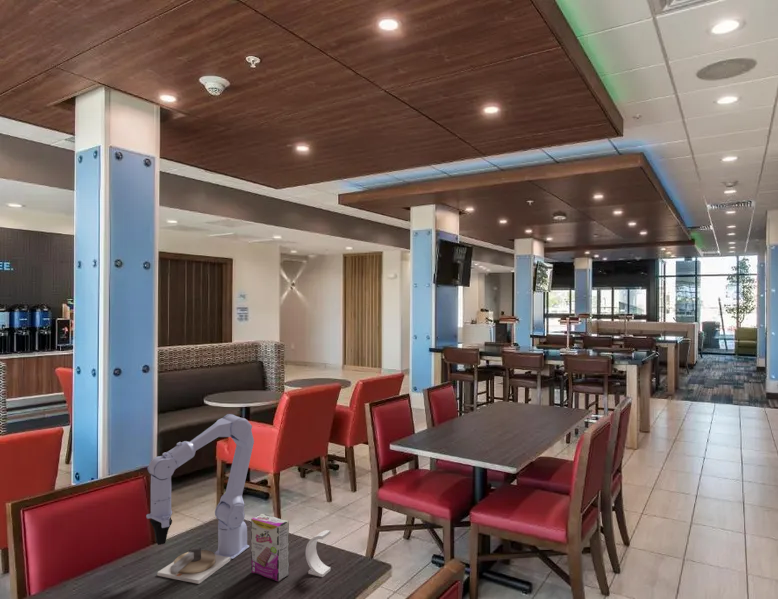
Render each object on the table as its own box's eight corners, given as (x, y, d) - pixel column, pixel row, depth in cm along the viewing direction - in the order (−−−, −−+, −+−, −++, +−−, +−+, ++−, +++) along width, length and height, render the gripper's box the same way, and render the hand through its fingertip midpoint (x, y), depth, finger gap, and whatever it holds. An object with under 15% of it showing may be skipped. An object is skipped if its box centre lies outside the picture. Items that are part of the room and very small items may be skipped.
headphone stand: (322, 577, 158) (322, 536, 158) (305, 573, 161) (305, 532, 161) (330, 570, 162) (330, 530, 162) (314, 566, 165) (313, 527, 165)
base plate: (191, 553, 174) (191, 549, 174) (230, 560, 169) (230, 556, 169) (157, 575, 160) (157, 571, 160) (198, 583, 155) (198, 579, 155)
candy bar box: (250, 573, 161) (250, 518, 161) (262, 566, 165) (261, 512, 165) (278, 582, 155) (278, 526, 155) (289, 575, 159) (289, 520, 160)
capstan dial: (188, 553, 171) (188, 539, 171) (222, 556, 169) (222, 543, 169) (154, 579, 155) (154, 564, 155) (191, 584, 152) (191, 569, 152)
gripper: (142, 493, 164) (142, 537, 164) (150, 508, 152) (150, 556, 152) (167, 489, 168) (167, 532, 168) (176, 503, 156) (177, 550, 156)
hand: (161, 543), depth 160 cm, fingers closed
